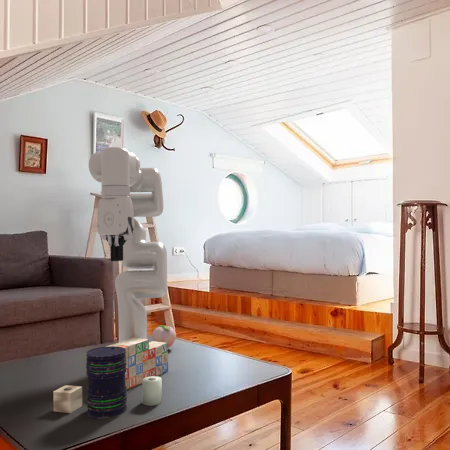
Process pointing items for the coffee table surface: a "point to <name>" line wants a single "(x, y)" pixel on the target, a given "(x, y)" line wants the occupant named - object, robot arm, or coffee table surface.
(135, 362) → the stack of blocks
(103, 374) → the storage jar
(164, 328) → the decorative fruit
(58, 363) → the coffee table surface
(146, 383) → the sage cylinder
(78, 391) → the maple cube
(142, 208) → the robot arm
